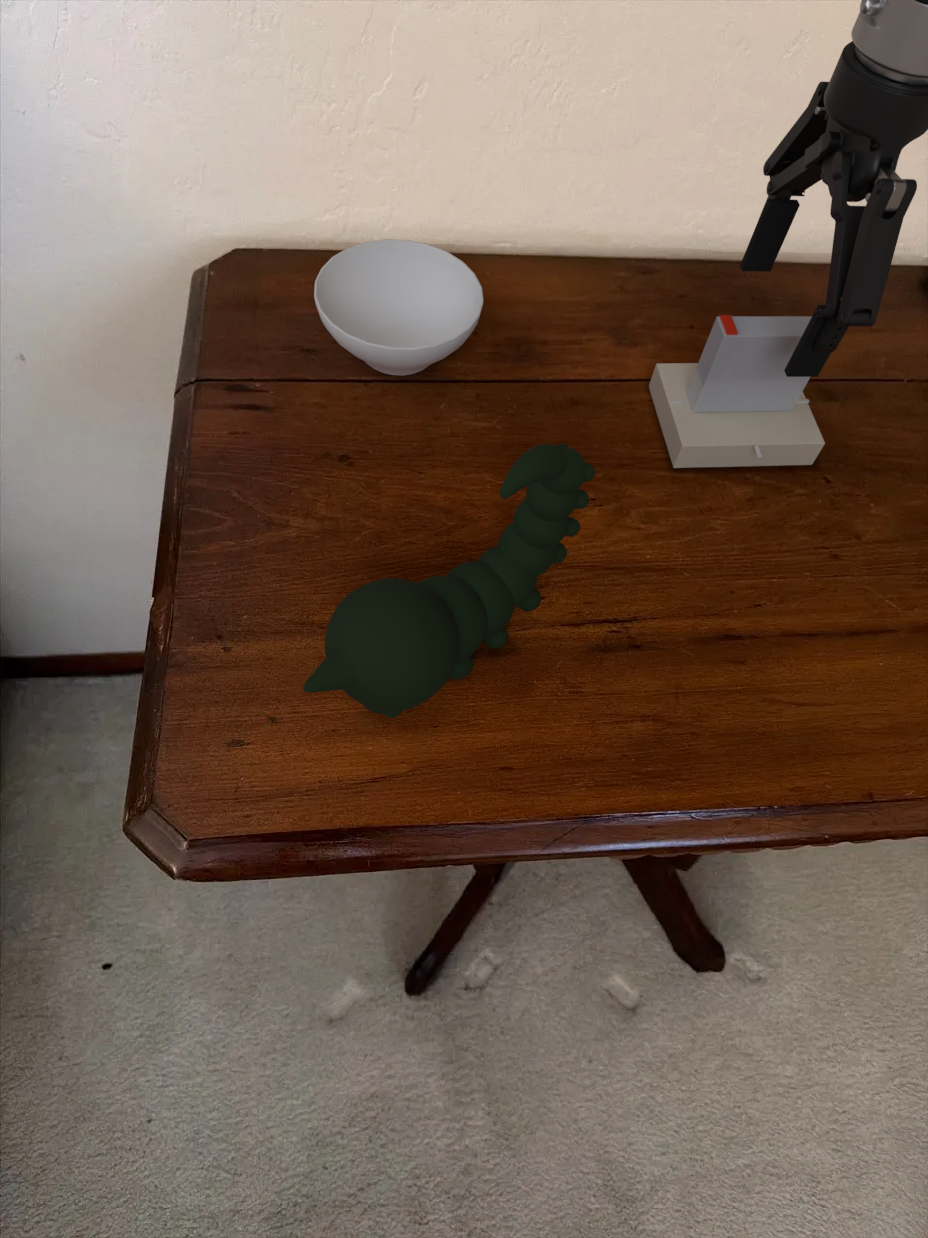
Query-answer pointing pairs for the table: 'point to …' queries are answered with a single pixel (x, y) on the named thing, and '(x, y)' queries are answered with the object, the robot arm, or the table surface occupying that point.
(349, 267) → the bowl
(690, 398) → the leaning grey slab
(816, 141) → the robot arm
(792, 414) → the base
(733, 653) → the table surface
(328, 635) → the toy figurine
